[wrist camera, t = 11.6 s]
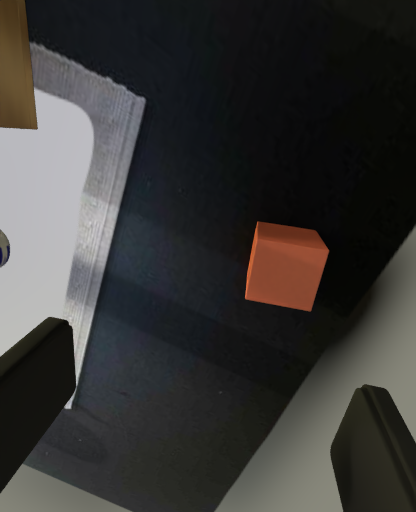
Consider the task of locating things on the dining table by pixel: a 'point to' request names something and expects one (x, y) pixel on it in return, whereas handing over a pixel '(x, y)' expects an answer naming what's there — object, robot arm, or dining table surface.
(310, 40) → the dining table surface
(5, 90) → the light wood open box
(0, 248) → the beverage can
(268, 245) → the block
